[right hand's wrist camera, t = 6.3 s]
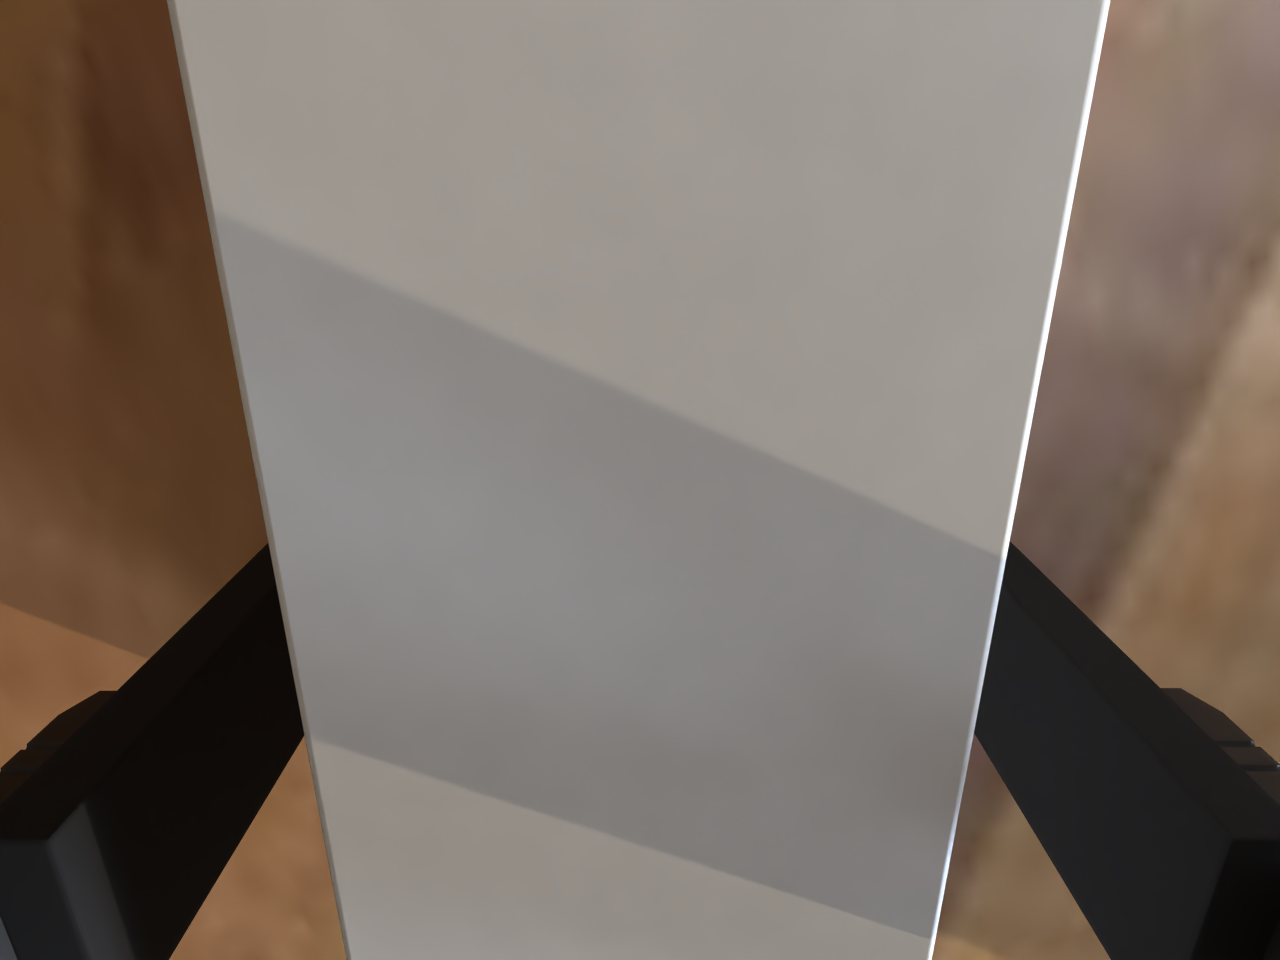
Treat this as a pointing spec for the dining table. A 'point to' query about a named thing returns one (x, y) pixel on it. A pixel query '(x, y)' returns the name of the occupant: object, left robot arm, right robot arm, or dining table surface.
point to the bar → (638, 442)
